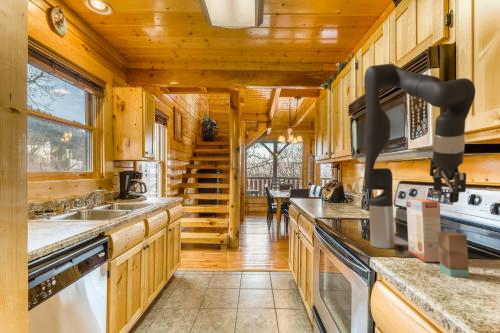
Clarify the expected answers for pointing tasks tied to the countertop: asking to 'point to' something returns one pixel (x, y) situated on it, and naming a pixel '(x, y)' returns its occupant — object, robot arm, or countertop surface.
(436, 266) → the countertop surface
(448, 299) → the countertop surface
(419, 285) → the countertop surface
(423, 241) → the cracker box
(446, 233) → the walnut block
